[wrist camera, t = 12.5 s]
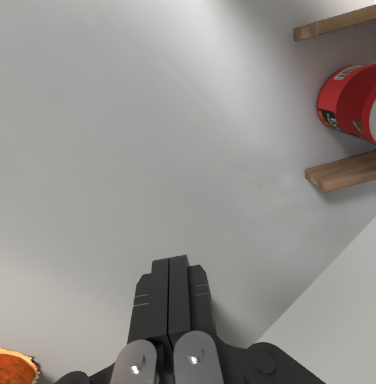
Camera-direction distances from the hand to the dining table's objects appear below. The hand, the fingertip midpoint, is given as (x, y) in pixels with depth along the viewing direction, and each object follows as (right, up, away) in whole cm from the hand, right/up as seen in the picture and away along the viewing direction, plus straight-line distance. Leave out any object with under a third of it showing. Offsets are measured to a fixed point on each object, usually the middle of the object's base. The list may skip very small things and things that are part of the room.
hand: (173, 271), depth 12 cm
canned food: (+21, +16, +23) cm, 35 cm away
